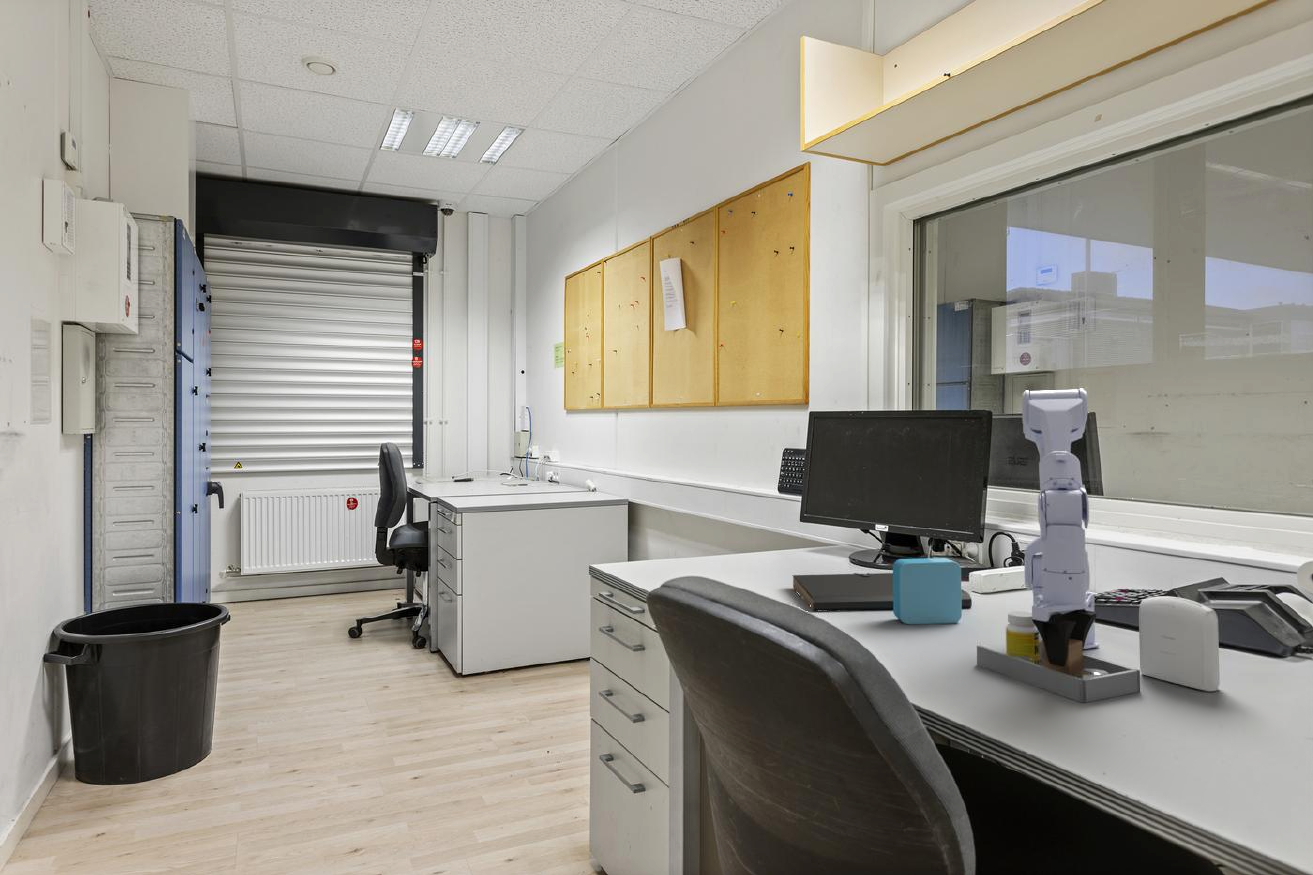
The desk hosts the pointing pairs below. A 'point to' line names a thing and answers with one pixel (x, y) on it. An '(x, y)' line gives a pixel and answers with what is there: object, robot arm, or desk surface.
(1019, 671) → the bay
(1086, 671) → the metal cylinder
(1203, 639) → the photo printer
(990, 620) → the desk surface
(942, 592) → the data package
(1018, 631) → the supplement bottle
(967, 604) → the file folder
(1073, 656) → the walnut block
